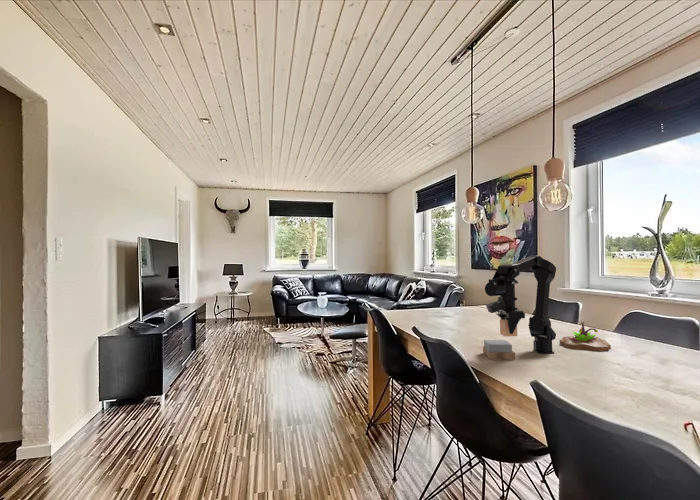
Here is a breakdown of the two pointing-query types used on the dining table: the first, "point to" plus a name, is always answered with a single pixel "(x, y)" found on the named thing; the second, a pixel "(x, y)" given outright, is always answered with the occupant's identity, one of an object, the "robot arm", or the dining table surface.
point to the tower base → (499, 355)
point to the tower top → (497, 346)
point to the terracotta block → (506, 329)
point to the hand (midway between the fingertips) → (508, 332)
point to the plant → (585, 341)
